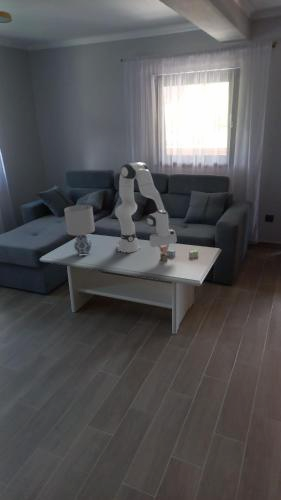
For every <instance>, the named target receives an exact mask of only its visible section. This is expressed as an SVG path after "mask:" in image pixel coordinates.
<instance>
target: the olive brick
mask: <svg viewBox="0 0 281 500" xmlns="http://www.w3.org/2000/svg"><path fill="white" fill-rule="evenodd" d="M188 257H189V258H190V259H193V258H194V257H195V258H198V257H199V251H198V250H197V249H195V250H190V251H188Z"/></svg>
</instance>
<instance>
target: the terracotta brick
mask: <svg viewBox="0 0 281 500" xmlns="http://www.w3.org/2000/svg"><path fill="white" fill-rule="evenodd" d="M160 248H162V251H160V250H159V252H160V253H163V254H166V255H167V247H166V245H161V247H160Z"/></svg>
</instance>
